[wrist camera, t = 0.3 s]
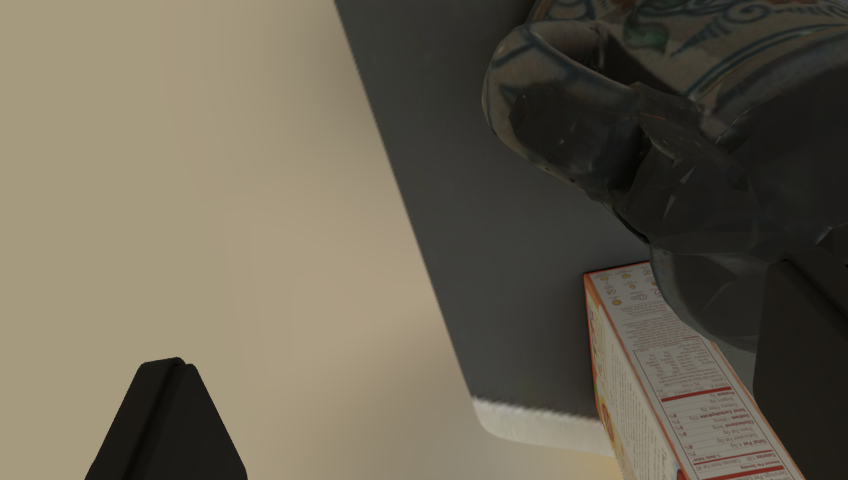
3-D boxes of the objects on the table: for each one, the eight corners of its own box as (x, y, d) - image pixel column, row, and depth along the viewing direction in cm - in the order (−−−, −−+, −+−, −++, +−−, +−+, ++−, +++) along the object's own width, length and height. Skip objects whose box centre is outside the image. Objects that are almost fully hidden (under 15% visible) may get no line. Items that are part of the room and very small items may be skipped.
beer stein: (764, 155, 43) (1131, 458, 22) (476, 205, 44) (558, 541, 23) (797, -125, 35) (1452, -79, 13) (438, -57, 36) (513, 89, 14)
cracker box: (664, 392, 54) (800, 660, 36) (592, 405, 55) (692, 676, 37) (664, 254, 47) (833, 504, 29) (581, 270, 47) (697, 526, 29)
